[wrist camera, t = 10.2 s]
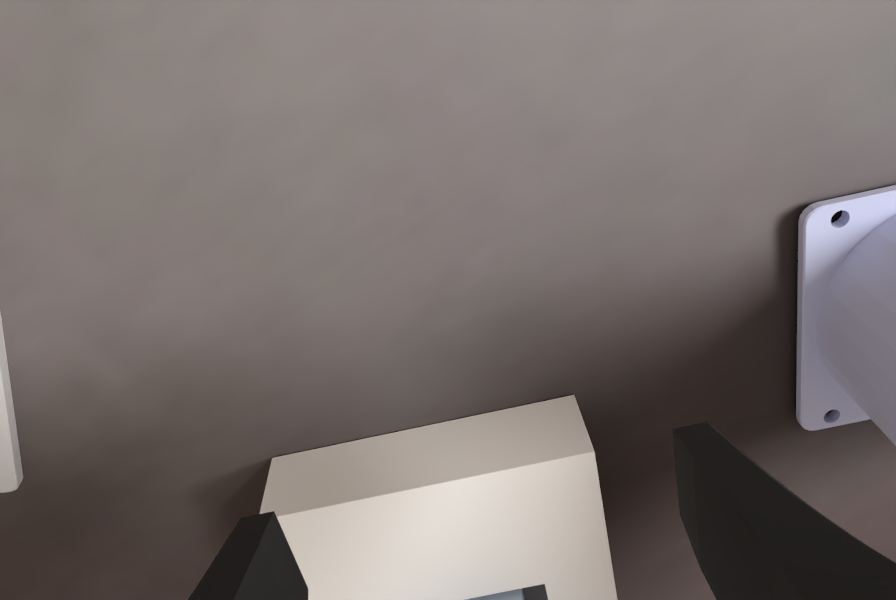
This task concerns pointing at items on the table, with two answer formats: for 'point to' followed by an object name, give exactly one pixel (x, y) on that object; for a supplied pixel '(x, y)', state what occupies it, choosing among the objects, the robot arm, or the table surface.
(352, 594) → the power strip
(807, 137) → the table surface
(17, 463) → the smartphone
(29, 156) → the table surface
